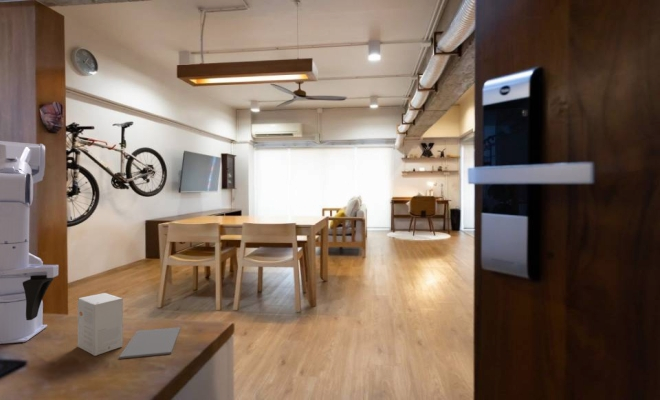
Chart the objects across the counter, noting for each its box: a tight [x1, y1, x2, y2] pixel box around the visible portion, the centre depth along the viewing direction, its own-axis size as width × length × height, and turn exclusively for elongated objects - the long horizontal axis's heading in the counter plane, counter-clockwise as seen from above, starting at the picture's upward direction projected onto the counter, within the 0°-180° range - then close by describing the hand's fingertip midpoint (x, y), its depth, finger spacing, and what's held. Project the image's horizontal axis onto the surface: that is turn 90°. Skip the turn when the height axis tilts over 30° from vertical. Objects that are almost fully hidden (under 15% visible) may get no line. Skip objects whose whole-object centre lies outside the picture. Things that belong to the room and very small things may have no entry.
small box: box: [77, 292, 124, 356], centre depth 74 cm, size 8×6×10 cm
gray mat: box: [118, 326, 181, 360], centre depth 77 cm, size 14×10×1 cm
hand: (6, 320), depth 61 cm, fingers open, 7 cm apart
